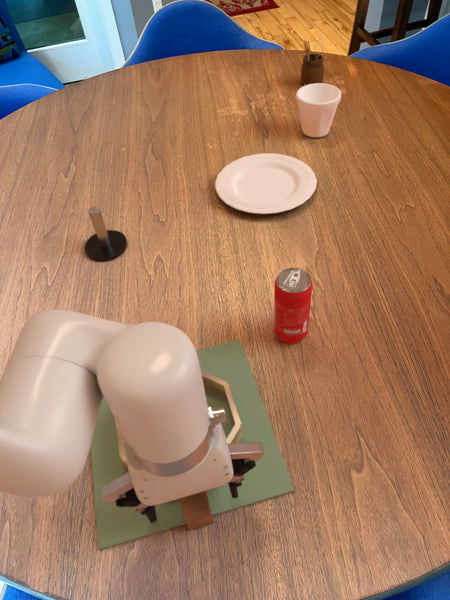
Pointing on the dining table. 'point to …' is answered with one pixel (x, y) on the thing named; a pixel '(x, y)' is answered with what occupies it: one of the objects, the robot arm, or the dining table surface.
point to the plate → (265, 183)
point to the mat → (255, 428)
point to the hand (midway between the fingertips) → (192, 497)
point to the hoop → (198, 504)
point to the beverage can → (292, 305)
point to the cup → (317, 108)
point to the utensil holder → (312, 66)
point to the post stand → (104, 240)
